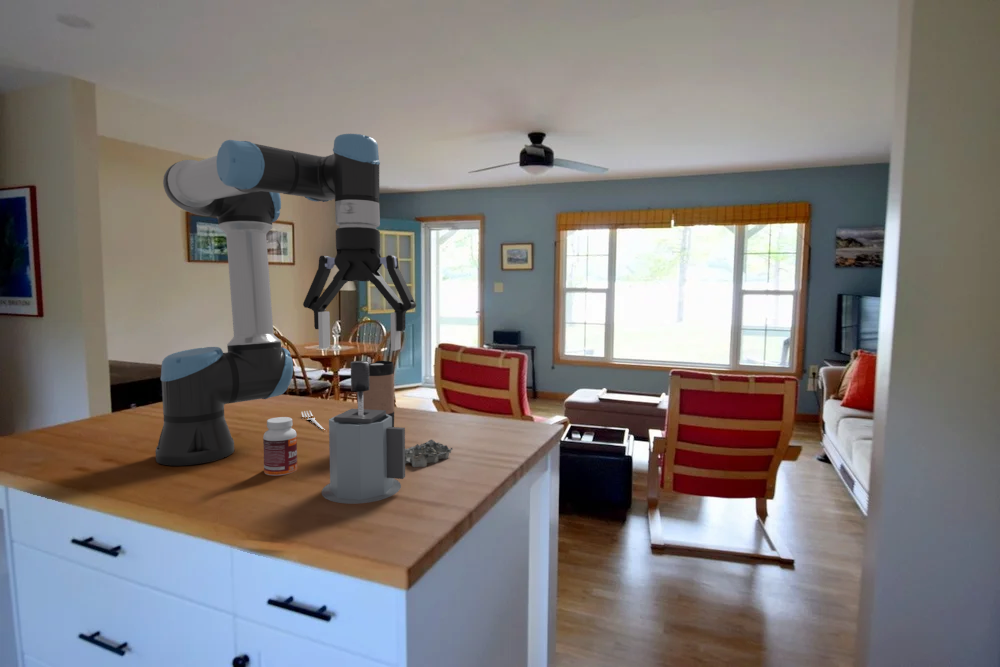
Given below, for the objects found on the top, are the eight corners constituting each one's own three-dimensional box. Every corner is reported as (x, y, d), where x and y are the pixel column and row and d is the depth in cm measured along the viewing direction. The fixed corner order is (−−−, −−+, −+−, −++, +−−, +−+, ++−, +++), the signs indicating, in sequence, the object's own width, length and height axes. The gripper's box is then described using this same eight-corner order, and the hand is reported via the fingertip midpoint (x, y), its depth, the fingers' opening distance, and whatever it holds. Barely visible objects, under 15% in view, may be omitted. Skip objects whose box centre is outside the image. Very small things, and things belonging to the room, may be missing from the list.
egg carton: (417, 474, 110) (417, 454, 110) (394, 466, 115) (394, 447, 114) (455, 461, 118) (455, 443, 118) (432, 454, 123) (432, 436, 122)
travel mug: (386, 454, 122) (385, 365, 120) (355, 452, 123) (353, 364, 121) (399, 444, 129) (399, 361, 127) (369, 442, 131) (368, 360, 129)
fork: (318, 435, 139) (318, 428, 139) (299, 417, 156) (299, 411, 156) (331, 433, 141) (331, 426, 141) (311, 416, 158) (311, 409, 158)
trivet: (306, 504, 94) (306, 499, 94) (344, 476, 107) (343, 472, 107) (383, 510, 91) (383, 506, 91) (411, 481, 105) (411, 477, 105)
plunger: (330, 480, 96) (328, 364, 94) (351, 465, 104) (349, 358, 102) (373, 483, 94) (371, 366, 92) (390, 468, 102) (389, 359, 100)
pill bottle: (295, 478, 106) (293, 422, 105) (261, 480, 105) (259, 424, 104) (299, 467, 112) (298, 415, 111) (267, 469, 111) (265, 416, 110)
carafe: (322, 496, 95) (320, 418, 94) (348, 476, 105) (347, 406, 104) (393, 502, 93) (392, 422, 91) (413, 481, 103) (413, 409, 101)
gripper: (280, 226, 94) (284, 349, 95) (418, 224, 89) (419, 353, 91) (303, 231, 101) (306, 344, 103) (432, 229, 96) (433, 348, 98)
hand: (359, 349), depth 97 cm, fingers open, 13 cm apart
